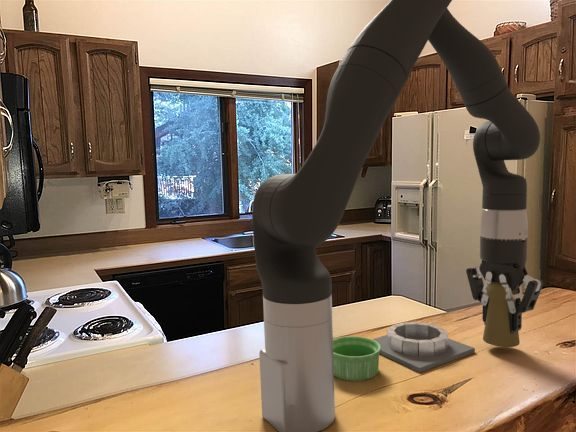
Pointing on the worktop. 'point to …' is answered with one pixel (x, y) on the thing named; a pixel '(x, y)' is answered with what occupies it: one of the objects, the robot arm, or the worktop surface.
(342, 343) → the ramekin
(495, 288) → the cork
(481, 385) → the worktop surface
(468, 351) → the fitting mat
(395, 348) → the ring collar
